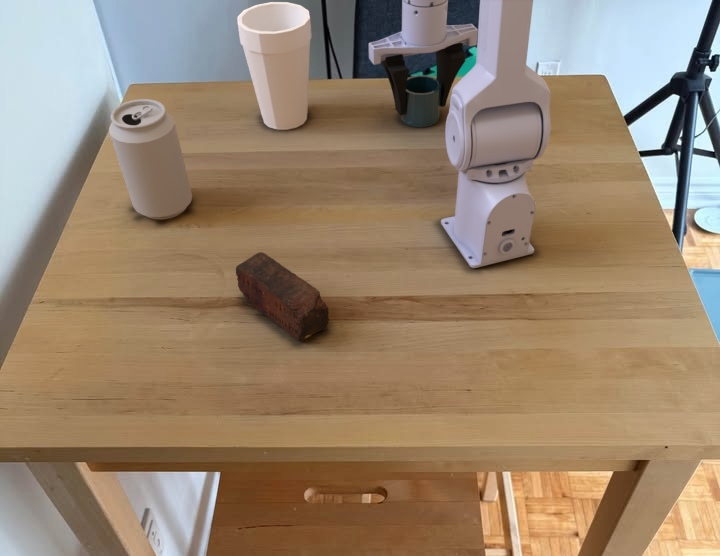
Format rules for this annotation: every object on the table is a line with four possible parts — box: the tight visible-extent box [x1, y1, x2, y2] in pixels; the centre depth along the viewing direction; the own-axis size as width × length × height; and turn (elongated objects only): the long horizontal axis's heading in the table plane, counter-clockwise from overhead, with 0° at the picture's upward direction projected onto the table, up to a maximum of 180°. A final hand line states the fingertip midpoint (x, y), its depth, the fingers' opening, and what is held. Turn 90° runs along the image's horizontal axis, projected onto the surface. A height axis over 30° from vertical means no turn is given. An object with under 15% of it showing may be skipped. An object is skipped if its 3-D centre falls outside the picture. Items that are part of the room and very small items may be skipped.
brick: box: [235, 251, 330, 342], centre depth 76 cm, size 11×4×5 cm, turn 44°
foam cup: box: [236, 1, 313, 131], centre depth 96 cm, size 10×9×13 cm
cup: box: [400, 74, 442, 128], centre depth 99 cm, size 5×6×4 cm
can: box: [108, 98, 193, 220], centre depth 85 cm, size 8×8×12 cm
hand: (420, 107), depth 100 cm, fingers closed on cup, 5 cm apart
